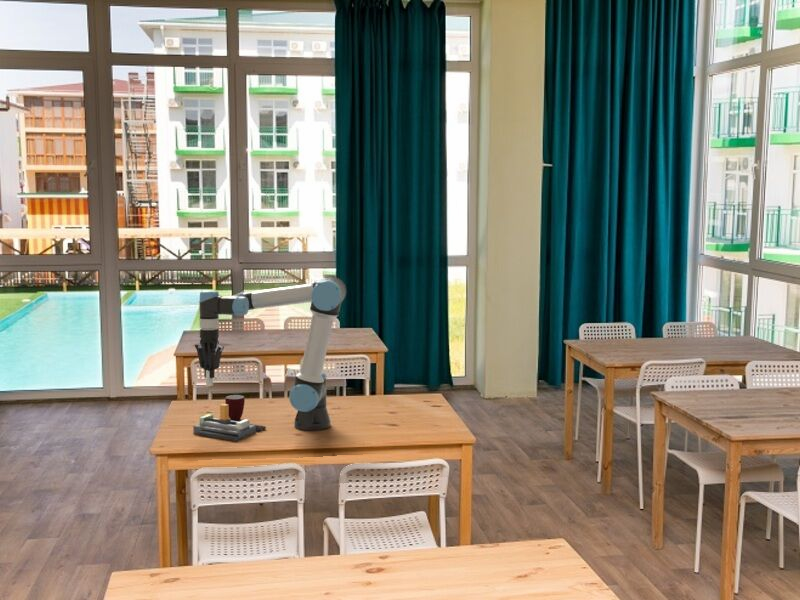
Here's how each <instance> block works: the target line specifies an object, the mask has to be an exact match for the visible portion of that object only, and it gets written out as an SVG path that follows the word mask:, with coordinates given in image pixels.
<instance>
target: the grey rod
mask: <svg viewBox="0 0 800 600" xmlns="http://www.w3.org/2000/svg"><path fill="white" fill-rule="evenodd" d="M262 431H263V430H262V428H261V427H257V426H256V432H262Z"/></svg>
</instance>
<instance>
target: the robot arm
mask: <svg viewBox="0 0 800 600" xmlns="http://www.w3.org/2000/svg"><path fill="white" fill-rule="evenodd" d="M346 296H347V287H346V284H345V283H344V282H343V280H341V279H340V278H338V277H335V276H330V277H326V278H322V279H318V280H313V281H312V282H311V283H308V284H307V283H306V284H300V285H299V284H298V285H291V286H285V287H284V286H283V287H274V288H268V289H267V288H266V289H260V290H253V291H240V292H238V293H236V294H233V295H231V296H230V295H220V294H219V291H218V290H212V289H211V290H210V289H207V290H204V289H203V290H201V291H200V292H199V302H198V303H199V328H200V329H199V338H200V339H199V342H198V343H196V344H194V348H195V349H196V353H197V357H198V362H199V367H200V368H201V369H203V370H204V377H205V386H206V387H212V386H214V378H215V370H218V369H219V368H220V362H221V356H222V353H223V351H224V349H225V347H224V346H222V345H220V342H219V338H220V337H219V335H220V333H219V332H220V331H219V330H220V329H218V328H219V326H220V325H219V316H220V315H227V316H228V315H230V316H231V315H232V316H246V315H247V314H248V312H249V311H250V310H251V311H252V310H259V309H265V308H266V309H268V308H274V307H282V306H283V307H284V306H291V305H299V304H300V305H301V304H306V303H310V308H309V310H310V312H311V314H312V316H311V321H310V325H309V331H308V335H307V340H306V345H305V349H304V353H303V357H302V362H301V365H300V366H301V367H300V371H299V372H297V373H295V375H294V376H295V377H294V380H293V381H294V382H293V387H292V388H291V390H290V391H289V394H288V395H289V396H288V397H289V398H288V399H289V402H290V404H291V406H292V407H293V408H294V409H295V410H297V413H296V414H295V418H294V422H293V423H294V425H293V426H294V428H295V429H298V430H302V431H321V430H325V429H329V428H330V427H331V418H330V415H329V412H328V408H327V381H328V379H327V374H326V373H325V372H323V370H324V364H325V360H326V357H327V356H326V355H327V351H328V346H329V342H330V338H331V333H332V329H333V325H334V324H333V323H334V320H335V319H336V318H337V317H339V314H340V309H341V307H342V306H341V305H342V302H343V301H344V300H345V298H346Z"/></svg>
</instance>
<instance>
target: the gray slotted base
mask: <svg viewBox="0 0 800 600" xmlns="http://www.w3.org/2000/svg"><path fill="white" fill-rule="evenodd" d="M218 419H219V418H216V417H215V418H214V414H212V413H209V414H205V415H202V416H200V417H199V423H198V424H194V425H193V426H192V427H193V434H196V433H197V434H196V435H198V431H206V432H211V433H217V434H223V435H229V436H235V437H238V441H241V440H242V439H245V438H247V437H249V435H250V436H252V435H254V434H256V433H257V431H256V426H254V425H255V424H252V425H250V424H251V423H250V419H247V418H245V419H243V420H239V421H232V420H231V425H230V424H224V423H218ZM251 434H252V435H251Z"/></svg>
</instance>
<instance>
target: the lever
mask: <svg viewBox="0 0 800 600" xmlns="http://www.w3.org/2000/svg"><path fill="white" fill-rule="evenodd" d="M219 413H220V415H219V416H220V417H219V418H217V419H218V423H224V424H230V425H231V421H232V420H231V419H230V418H229V404H226V403H222V404H220V405H219Z"/></svg>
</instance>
